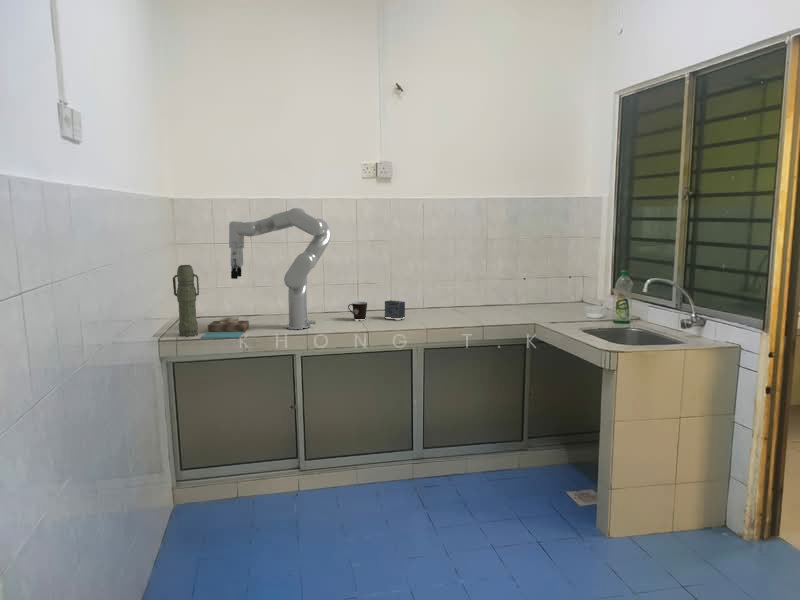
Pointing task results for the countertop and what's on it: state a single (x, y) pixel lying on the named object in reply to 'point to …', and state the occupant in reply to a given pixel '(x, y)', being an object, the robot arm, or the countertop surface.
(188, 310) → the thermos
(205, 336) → the mat
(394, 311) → the small box
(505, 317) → the countertop surface
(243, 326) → the riser
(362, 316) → the coffee mug
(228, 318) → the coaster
